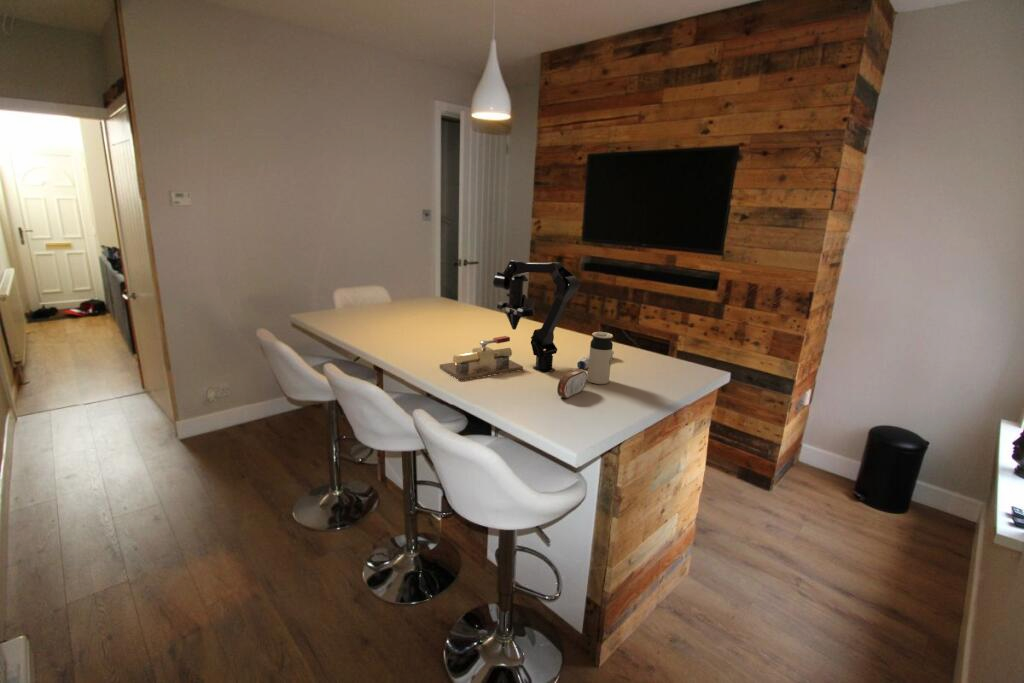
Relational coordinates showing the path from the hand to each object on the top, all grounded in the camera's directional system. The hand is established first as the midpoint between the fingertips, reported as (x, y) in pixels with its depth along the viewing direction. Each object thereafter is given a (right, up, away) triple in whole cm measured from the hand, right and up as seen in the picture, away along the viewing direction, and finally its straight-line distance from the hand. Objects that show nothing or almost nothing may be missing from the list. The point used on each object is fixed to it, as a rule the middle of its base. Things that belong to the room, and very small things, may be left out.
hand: (514, 329), depth 197 cm
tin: (+20, -23, -32) cm, 44 cm away
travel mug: (+31, -20, -17) cm, 41 cm away
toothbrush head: (+34, -14, +5) cm, 38 cm away
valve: (-12, -16, -11) cm, 23 cm away
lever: (-8, -5, -10) cm, 14 cm away
